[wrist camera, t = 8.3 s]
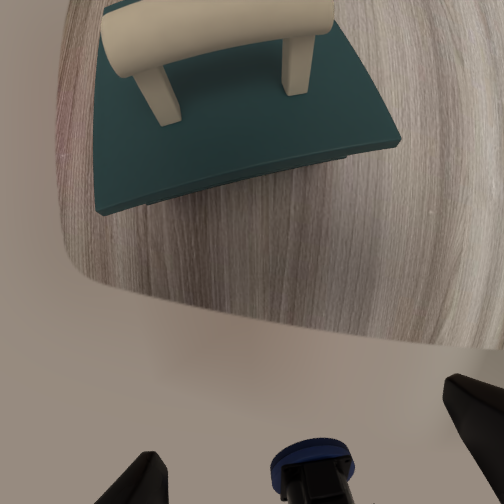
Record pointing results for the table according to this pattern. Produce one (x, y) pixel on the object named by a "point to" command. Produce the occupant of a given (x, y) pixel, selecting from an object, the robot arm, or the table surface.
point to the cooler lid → (224, 95)
